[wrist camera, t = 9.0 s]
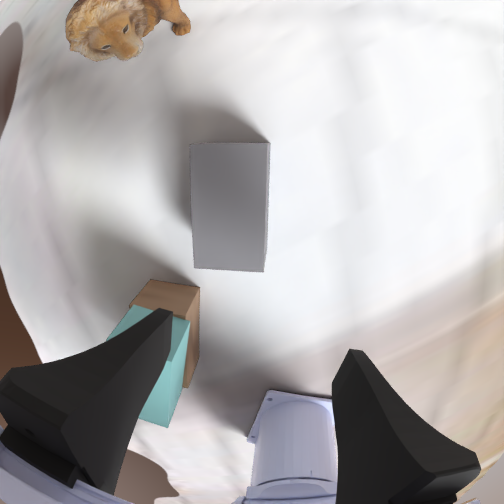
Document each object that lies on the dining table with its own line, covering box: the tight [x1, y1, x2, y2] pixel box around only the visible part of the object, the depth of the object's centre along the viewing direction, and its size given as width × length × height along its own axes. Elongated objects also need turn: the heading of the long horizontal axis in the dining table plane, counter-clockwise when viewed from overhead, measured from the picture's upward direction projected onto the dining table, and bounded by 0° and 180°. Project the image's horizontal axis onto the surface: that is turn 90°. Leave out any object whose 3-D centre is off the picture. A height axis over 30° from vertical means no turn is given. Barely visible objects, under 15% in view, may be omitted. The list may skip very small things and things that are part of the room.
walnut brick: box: [129, 279, 200, 388], centre depth 22 cm, size 7×4×4 cm, turn 174°
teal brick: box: [106, 305, 190, 428], centre depth 18 cm, size 7×4×4 cm, turn 167°
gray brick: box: [190, 142, 270, 272], centre depth 18 cm, size 7×4×4 cm, turn 179°
